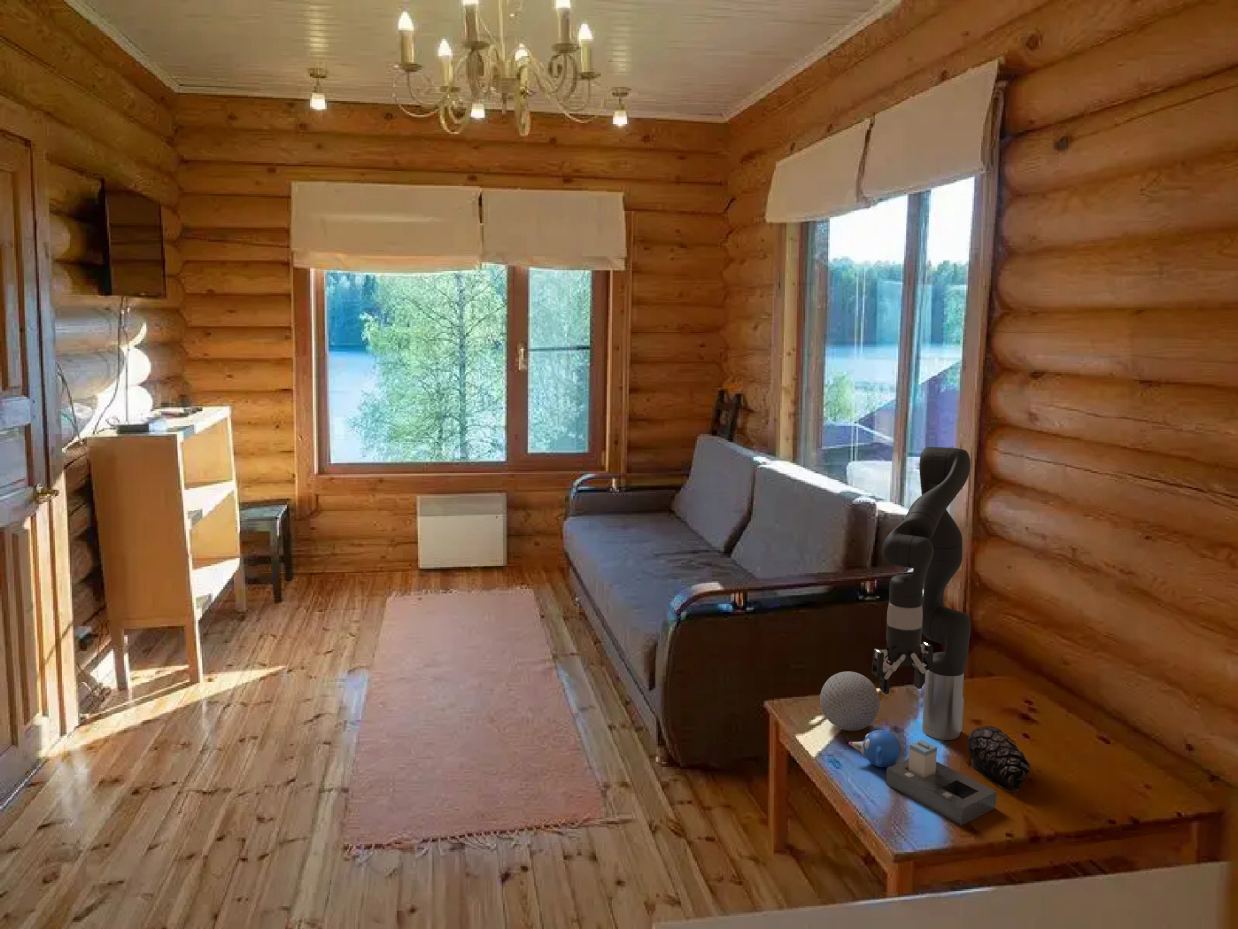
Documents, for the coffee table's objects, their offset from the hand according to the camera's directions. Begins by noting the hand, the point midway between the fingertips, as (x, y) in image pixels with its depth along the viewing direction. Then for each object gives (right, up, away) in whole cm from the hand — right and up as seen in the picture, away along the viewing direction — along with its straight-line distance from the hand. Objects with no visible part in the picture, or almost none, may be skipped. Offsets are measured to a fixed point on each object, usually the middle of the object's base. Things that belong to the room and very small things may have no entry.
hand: (901, 690), depth 201 cm
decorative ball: (-4, -18, +32) cm, 37 cm away
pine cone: (+26, -22, +9) cm, 35 cm away
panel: (+8, -24, 0) cm, 25 cm away
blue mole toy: (-2, -21, +14) cm, 26 cm away
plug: (+6, -23, +4) cm, 24 cm away
